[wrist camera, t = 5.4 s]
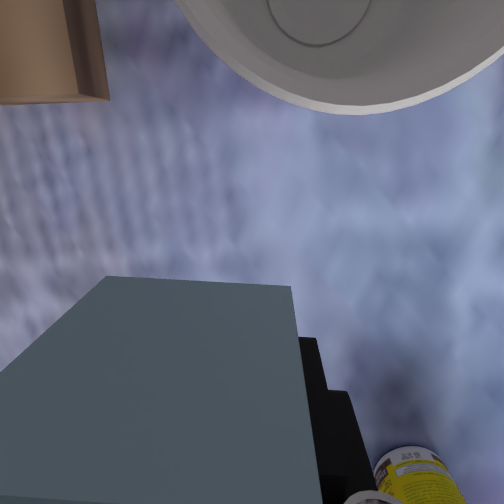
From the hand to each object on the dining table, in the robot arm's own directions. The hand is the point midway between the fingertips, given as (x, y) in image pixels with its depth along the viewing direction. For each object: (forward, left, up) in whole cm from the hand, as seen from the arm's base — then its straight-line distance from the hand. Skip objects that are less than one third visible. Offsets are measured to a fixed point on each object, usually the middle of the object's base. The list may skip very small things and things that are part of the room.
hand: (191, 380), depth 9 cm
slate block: (0, 0, -1) cm, 1 cm away
